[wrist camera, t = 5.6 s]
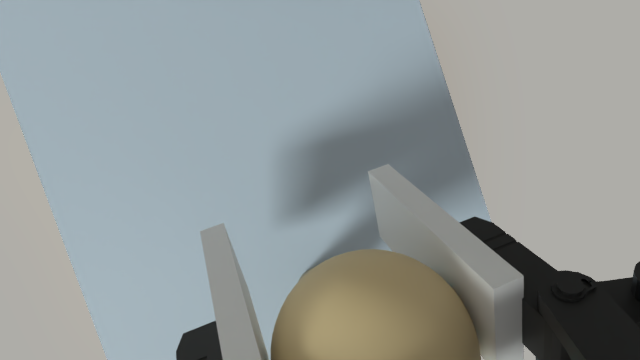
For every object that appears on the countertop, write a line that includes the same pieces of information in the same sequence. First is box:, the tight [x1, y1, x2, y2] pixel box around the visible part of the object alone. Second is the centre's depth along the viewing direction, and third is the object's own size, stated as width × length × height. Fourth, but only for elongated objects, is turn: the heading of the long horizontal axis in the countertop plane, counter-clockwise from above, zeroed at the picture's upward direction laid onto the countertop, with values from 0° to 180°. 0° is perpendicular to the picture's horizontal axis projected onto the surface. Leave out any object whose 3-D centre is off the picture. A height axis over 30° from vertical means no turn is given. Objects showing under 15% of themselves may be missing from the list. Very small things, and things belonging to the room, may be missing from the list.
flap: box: [0, 0, 491, 360], centre depth 13 cm, size 22×16×10 cm
